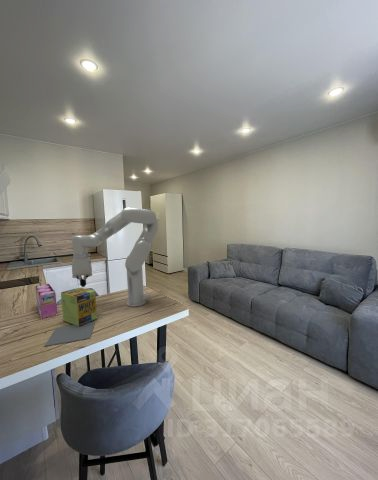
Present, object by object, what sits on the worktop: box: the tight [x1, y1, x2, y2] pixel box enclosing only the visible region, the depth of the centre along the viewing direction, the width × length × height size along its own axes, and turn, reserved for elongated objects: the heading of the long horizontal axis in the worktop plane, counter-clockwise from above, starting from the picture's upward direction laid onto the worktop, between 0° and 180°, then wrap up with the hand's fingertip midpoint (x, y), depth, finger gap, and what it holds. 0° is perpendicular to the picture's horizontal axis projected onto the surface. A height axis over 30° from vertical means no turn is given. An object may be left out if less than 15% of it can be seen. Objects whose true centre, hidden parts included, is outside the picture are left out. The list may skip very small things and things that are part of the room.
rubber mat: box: [43, 321, 96, 348], centre depth 100 cm, size 18×16×1 cm
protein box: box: [60, 287, 98, 326], centre depth 113 cm, size 10×15×16 cm
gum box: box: [35, 283, 58, 319], centre depth 127 cm, size 24×8×14 cm, turn 41°
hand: (83, 286), depth 126 cm, fingers closed
